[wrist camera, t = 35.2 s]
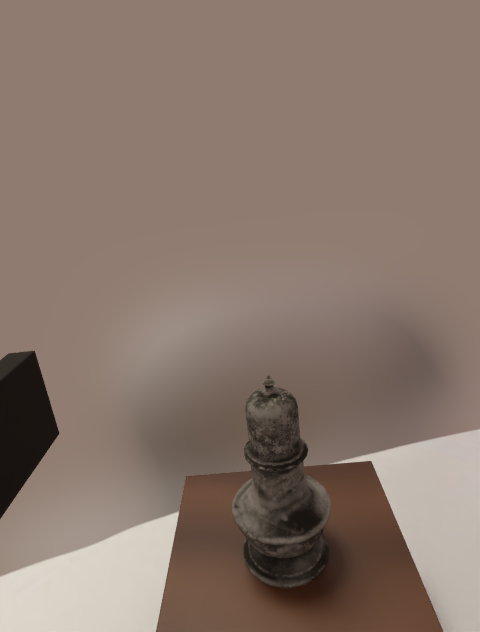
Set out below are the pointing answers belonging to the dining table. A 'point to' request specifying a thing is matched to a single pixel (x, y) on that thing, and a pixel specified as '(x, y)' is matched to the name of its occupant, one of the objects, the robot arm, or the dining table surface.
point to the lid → (303, 601)
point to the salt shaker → (280, 495)
